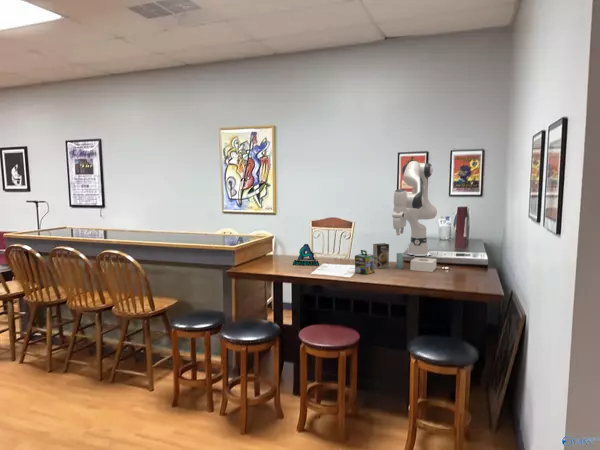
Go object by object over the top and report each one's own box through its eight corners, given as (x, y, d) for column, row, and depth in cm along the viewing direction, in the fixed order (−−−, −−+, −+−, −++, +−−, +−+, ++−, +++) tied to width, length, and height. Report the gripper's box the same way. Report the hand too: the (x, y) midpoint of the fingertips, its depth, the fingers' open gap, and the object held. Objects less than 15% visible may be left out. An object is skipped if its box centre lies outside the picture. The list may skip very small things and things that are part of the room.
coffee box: (377, 268, 277) (377, 245, 275) (372, 267, 283) (372, 243, 281) (389, 267, 280) (389, 244, 278) (383, 265, 286) (384, 242, 284)
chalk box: (374, 272, 266) (374, 249, 265) (365, 275, 260) (365, 251, 259) (363, 270, 273) (363, 248, 272) (354, 272, 267) (354, 250, 266)
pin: (397, 267, 281) (397, 252, 280) (403, 267, 279) (403, 253, 278) (395, 268, 277) (395, 253, 276) (401, 268, 276) (401, 254, 274)
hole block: (415, 265, 284) (415, 257, 284) (436, 267, 278) (436, 258, 277) (410, 270, 272) (410, 261, 271) (432, 272, 265) (432, 262, 265)
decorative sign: (319, 265, 291) (319, 244, 289) (318, 266, 289) (318, 244, 287) (293, 264, 296) (293, 243, 294) (292, 265, 293) (292, 244, 292)
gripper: (399, 212, 285) (399, 232, 286) (391, 214, 267) (391, 236, 268) (408, 212, 282) (408, 232, 283) (401, 215, 264) (400, 236, 265)
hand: (399, 234), depth 276 cm, fingers open, 8 cm apart
